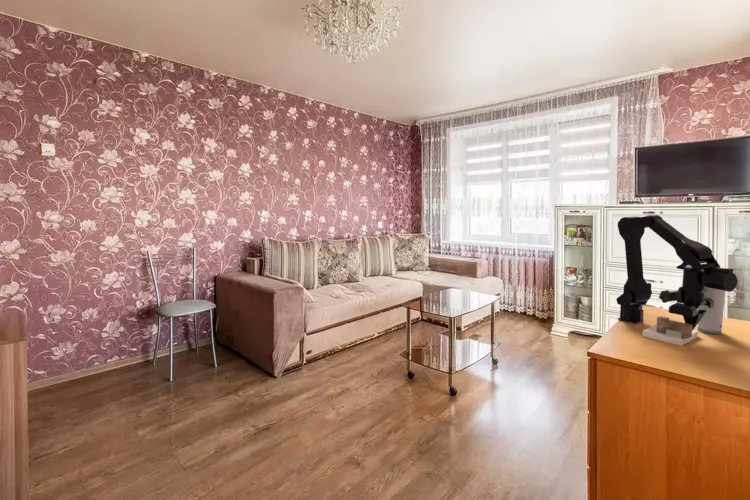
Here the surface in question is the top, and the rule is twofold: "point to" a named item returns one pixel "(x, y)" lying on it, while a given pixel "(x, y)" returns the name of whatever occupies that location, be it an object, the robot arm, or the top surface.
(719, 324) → the travel mug
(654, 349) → the top surface
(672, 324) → the grey knobbed lever
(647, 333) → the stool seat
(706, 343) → the top surface
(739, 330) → the top surface
